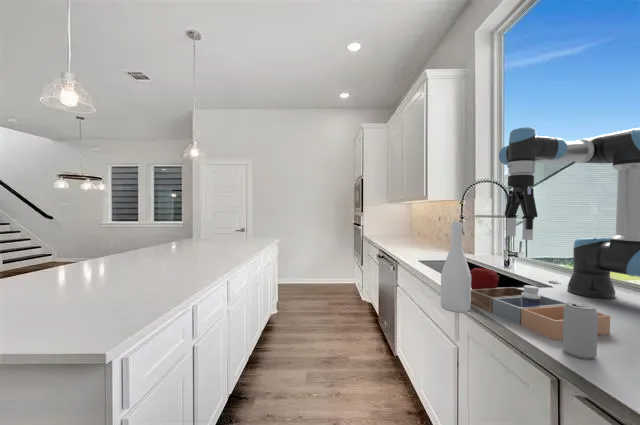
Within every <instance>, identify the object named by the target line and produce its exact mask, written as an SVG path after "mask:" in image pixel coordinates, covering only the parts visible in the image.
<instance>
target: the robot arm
mask: <svg viewBox="0 0 640 425" xmlns="http://www.w3.org/2000/svg"><path fill="white" fill-rule="evenodd" d="M498 160H499V161H500V163H501V164H502V165H505V166H506V167H507V169H508V172H507V173H508V177H507V186H508V187H509V188H512V189H509V190H508V195H507V196H508V197H507V201H506V206H505V211H504V217H506V237H516V231H517V227H516V226H517V218H518V216H517V212H518V209H519V208H521V211H522V215H523V216H522V217H521V219H522V233H521V234H522V235H521V237H522V239H521V240H523V241H524V240H525V241H526V240H527V241H533V238H534V219H535V218H538V211H537V207H536V200H535V196H534V188H533V187H534V185H535V175H534V174H535V172H536V170H535V169H536V168H535V166H536V163H537V164H538V163H557V162H560V163H561V162H574V163H577V164H600V165H601V164H612V168H614V169H615V170H616V171H617V184H616V186H617V187H616V188H617V189H616V192H617V193H616V216H615V218H616V219H615V222H616V223H615V234H614V235H613V236H611V237H595V238H594V237H591V238H589V237H588V238H577V239H575V240H574V242H573V243H574V244H573V248H572V249H573V258H572V259H573V261H572V262H573V263H572V264H573V265H572V266H573V269H572V275H571V277H570V279H569V281H568V284H567V291H568V292H570V293H571V294H574V295H579V296H582V297H589V298H597V299H615V298H616V289H615V288H614V284H613V281H612V279H611V273H616V274H621V275H626V276H629V277H638V278H640V127H634V128H629V129H626V130H621V131H616V132H612V133H611V132H610V133H606V134H601V135H597V136H594V137H589V138H581V139H577V140H575V141H566V140H565V139H563V138H561V137H556V136H542V135H541V136H539V135H537V129H536V128H535V127H531V126H530V127H528V126H527V127H519V128H515V129H513V130H511V131H510V132H509V139H508V145H506V146H503V147H502V148H500V150H499V151H498Z"/></svg>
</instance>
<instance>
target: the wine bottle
mask: <svg viewBox="0 0 640 425" xmlns="http://www.w3.org/2000/svg"><path fill="white" fill-rule="evenodd" d="M450 228H451V239H450V240H451V242H450V248H449V251H448V254H447V256H446V259H445V262H444V265H443V268H442V270H441V274H440V306H441V308H442V309H443V310H445V311H447V312H450V313H456V314H457V313H458V314H459V313H460V314H462V313H463V314H465V313H468V312H470V310H471V305H472V304H471V290H472V288H471V273H470V271H471V270H470V267H469V264H468V261H467V258H466V255H465V252H464V247H463V228H464V224H463V221H462V222H461V221H451V225H450Z"/></svg>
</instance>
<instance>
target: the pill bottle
mask: <svg viewBox="0 0 640 425" xmlns="http://www.w3.org/2000/svg"><path fill="white" fill-rule="evenodd" d="M523 290H524V292H522V293H521V307H531V306H541V296H540V295H541V294H539V291H540V289H539V287H538V286H535V285H528V284H527V285H525V284H524V285H523Z"/></svg>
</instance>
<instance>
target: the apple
mask: <svg viewBox="0 0 640 425" xmlns="http://www.w3.org/2000/svg"><path fill="white" fill-rule="evenodd" d="M470 273H471V290H475V289H491V288H498V284H499V281H500V278H499V275H498V273H497V272H495V270H493V269H489V268H484V266H482V268H481V267H474V268H472V269H471V270H470Z"/></svg>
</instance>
